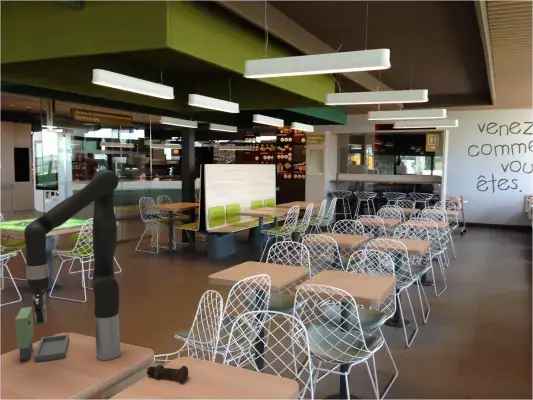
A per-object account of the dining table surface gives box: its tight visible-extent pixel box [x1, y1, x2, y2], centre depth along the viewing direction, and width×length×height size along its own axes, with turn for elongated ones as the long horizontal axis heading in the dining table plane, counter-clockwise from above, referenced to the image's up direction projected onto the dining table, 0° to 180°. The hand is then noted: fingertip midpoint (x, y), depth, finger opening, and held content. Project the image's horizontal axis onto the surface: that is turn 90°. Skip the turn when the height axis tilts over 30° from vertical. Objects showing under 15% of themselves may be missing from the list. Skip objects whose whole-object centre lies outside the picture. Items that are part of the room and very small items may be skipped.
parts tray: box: [33, 334, 70, 363], centre depth 192 cm, size 11×20×2 cm, turn 19°
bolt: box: [146, 364, 189, 384], centre depth 167 cm, size 6×5×15 cm
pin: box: [33, 302, 48, 325], centre depth 174 cm, size 4×4×7 cm
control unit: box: [14, 306, 35, 363], centre depth 186 cm, size 5×14×18 cm, turn 19°
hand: (41, 320), depth 174 cm, fingers closed on pin, 4 cm apart
